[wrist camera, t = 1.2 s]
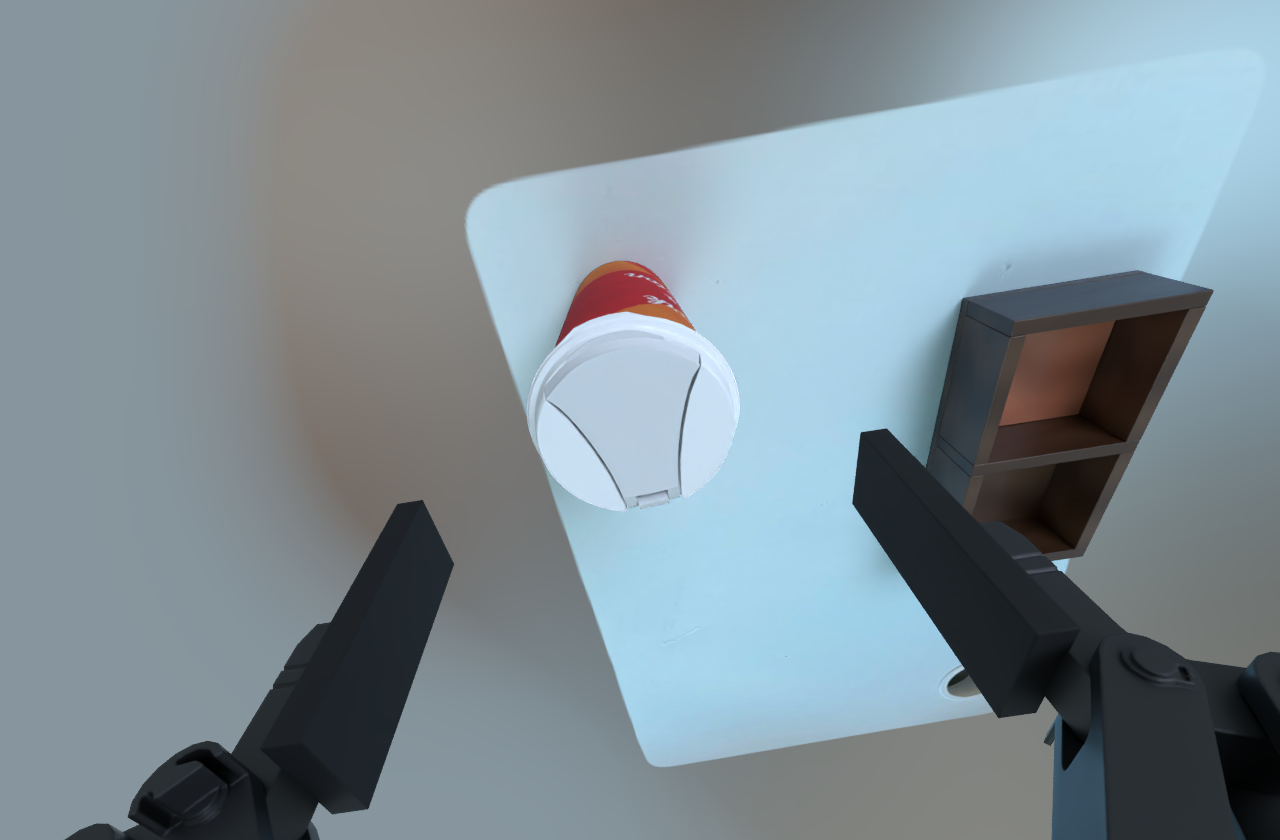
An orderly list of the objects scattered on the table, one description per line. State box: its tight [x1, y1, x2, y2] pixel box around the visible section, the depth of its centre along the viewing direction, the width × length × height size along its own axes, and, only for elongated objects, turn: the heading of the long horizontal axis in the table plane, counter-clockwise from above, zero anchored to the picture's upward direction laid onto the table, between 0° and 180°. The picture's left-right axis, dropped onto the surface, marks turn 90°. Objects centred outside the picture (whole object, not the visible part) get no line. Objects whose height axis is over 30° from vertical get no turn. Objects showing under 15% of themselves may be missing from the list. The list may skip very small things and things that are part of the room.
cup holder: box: [926, 271, 1213, 561], centre depth 35 cm, size 22×12×5 cm, turn 8°
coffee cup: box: [527, 261, 740, 512], centre depth 24 cm, size 8×8×15 cm
